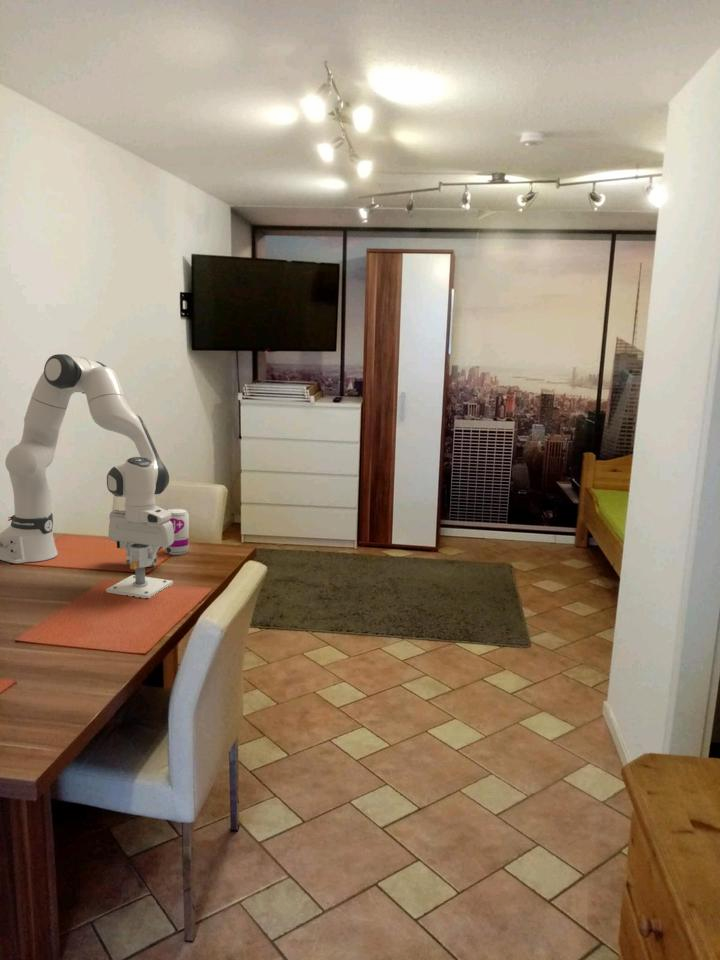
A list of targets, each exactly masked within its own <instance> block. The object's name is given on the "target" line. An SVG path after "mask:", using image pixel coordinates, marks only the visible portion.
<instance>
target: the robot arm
mask: <svg viewBox="0 0 720 960" xmlns="http://www.w3.org/2000/svg"><path fill="white" fill-rule="evenodd" d="M43 368H44V369H43V372H42V373H41V375H40V377H39V378H38V380H37V382H36V384H35V386H34V389H33V392H32V394H31V396H30V400H29V403H28V406H27V409H26V412H25V416H24V417H23V418H24V419H23V430H22V431H23V432H22V437H21V440H20V441H19V443H18V444H17V445H15V446H13V447H11V448H10V450H9V451H8V453H7V455H6V458H5V462H4V464H5V468H6V470H7V471H8V474H9V479H10V483H11V486H12V493H13V502H14V503H13V504H14V514H13V515H12V516H10V517H9V516H8V520H7V521H8V522H11V523H10V525H9V526H8V527H7V528H5V529H4V530H3V531H2V532H0V560H1V561H5V562H7V563H12V564H22V563H33V562H43V561H47V560H51V559H54V558H55V557H57V556H58V554H59V552H58V550H57V549H58V548H57V547H56V542H55V537H54V532H53V528H54V526H53V525H54V518H53V517H54V515H53V512H52V502H51V501H52V500H51V499H52V498H51V497H52V496H51V489H50V488H49V483H48V480H47V479H48V478H47V475H46V469H47V468H48V467H49V466H51V464H52V463H53V460H54V458H55V453H56V449H57V445H58V439H59V434H60V429H61V426H62V424H63V422H64V418H65V415H66V412H67V408H68V406H69V404H70V403H69V402H70V399H71V397H72V395H73V394H75V393H81V394H85V396H86V401H87V404H88V405H87V406H88V410H89V413H90V416H91V418H92V420H93V422H94V423H96V425H98V426H99V427H101V428H102V429H104V430H107V431H110V432H114V433H118V434H121V435H123V436H125V437H127V438H129V439H130V440H131V441H132V442H133V443H134V444H135V448H136V449H137V452H138V454H139V456H132V457H129V458H128V459H125V462H124V463H122V464H119V465H116V466H113V467H112V468H111V469H110V470H109V471H108V473H107V474H106V488H107V490H108V492H110V493H111V495H114V496H115V497H119V498H120V497H121V498H125V501H124V510H119V509H114V510H112V511H111V512H110V513H109V525H108V532H107V533H108V536H107V537H108V538H109V539H110V541H113V540H114V541H113V542H116V541H121V542H123V546H124V548H125V549H124V550H125V551H126V553H125V554H126V556H130V545H129V544H130V543H136V544H144V545H152V549H153V551H152V552H151V553H149V559H152V560H154V559H156V555H157V552H159V551H158V549H159V547H163V548H165V547H168V546H170V545H172V544H173V542H174V529H173V524H172V522H171V521H170V520H169V519H171V517H172V514H171V513H170V512H169V511H167V510H168V509H164V508H162V507H160V506H159V505H157V501H156V497H155V495H161V494H162V493H163V492H164V491H165V489H167V487H168V485H169V483H170V474H169V471H168V469H167V467H166V466H165V464H164V463H163V461H162V460H161V457H160V456H159V453H158V451H157V449H156V445H155V443H154V441H153V440H152V437H151V435H150V433H149V431H148V429H147V427H146V424H145V423H144V420H143V419H142V417H141V416H140V415H138V414H136V413H135V412H134V411H133V410H132V409H131V407H130V406H129V404H128V402H127V400H126V397H125V393H124V390H123V389H124V388H123V387H122V384H121V382H120V379H119V376H118V375H117V373H116V372H115V371H114V370H113V369H112V368H111V367H108V366H107V365H106V364H103V363H102V362H100V361H94V360H92V359H89V358H87V357H82V356H75V355H74V356H73V355H69V354H64V353H63V354H61V353H59V354H58V353H57V354H53V355H51V356H50V357H48V359H47V360H46V362H45V364H44V367H43Z"/></svg>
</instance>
